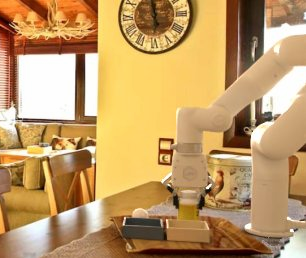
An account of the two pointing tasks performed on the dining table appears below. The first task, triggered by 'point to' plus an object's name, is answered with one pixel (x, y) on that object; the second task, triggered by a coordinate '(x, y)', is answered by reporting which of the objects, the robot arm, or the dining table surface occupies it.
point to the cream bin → (187, 230)
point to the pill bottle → (188, 206)
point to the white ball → (140, 213)
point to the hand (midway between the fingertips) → (188, 208)
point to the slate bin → (143, 228)
